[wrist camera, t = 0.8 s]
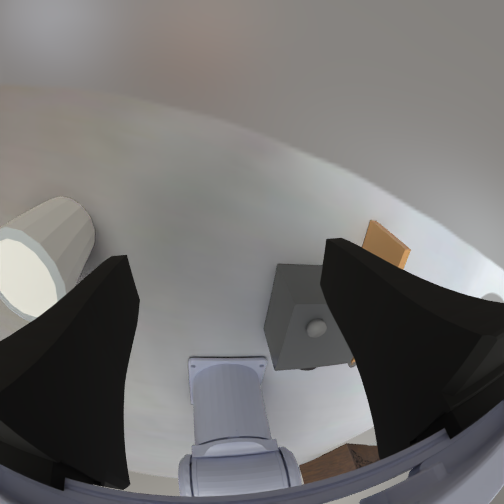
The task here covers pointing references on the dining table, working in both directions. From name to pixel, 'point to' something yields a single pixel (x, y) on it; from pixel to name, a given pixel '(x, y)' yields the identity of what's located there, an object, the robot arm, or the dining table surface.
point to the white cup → (43, 255)
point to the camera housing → (302, 322)
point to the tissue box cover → (339, 462)
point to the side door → (384, 249)
